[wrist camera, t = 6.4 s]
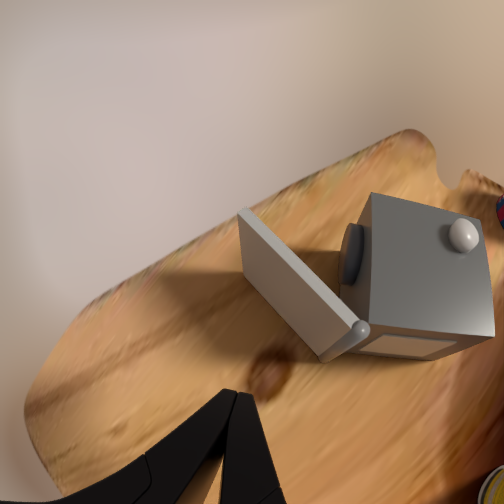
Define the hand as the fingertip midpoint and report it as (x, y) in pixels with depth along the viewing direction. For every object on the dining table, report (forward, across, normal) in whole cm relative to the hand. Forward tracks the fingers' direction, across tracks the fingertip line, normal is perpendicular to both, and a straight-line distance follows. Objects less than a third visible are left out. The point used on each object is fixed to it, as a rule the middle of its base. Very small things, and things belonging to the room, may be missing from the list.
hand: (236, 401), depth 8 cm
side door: (+13, -2, +4) cm, 14 cm away
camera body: (+15, -9, +3) cm, 18 cm away
